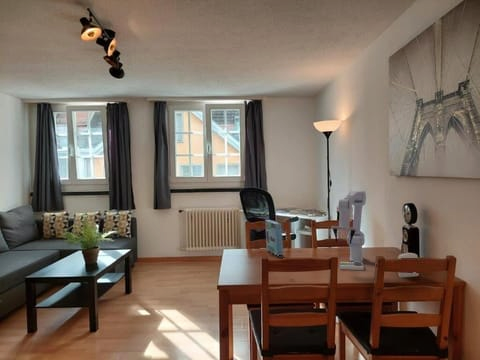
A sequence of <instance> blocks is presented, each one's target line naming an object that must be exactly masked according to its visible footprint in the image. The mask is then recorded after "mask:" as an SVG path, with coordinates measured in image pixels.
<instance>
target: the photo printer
mask: <svg viewBox="0 0 480 360" xmlns="http://www.w3.org/2000/svg"><path fill="white" fill-rule="evenodd" d="M401 258H418V259H419V257H418V254H416V253H414V252H413V253H412V252H404V253H401V254H399V255H398V256H397V260H398V259H401ZM419 276H420V272H419V273H416V272H413V273H399V272H398V277H399V278H413V277H419Z"/></svg>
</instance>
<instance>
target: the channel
mask: <svg viewBox="0 0 480 360" xmlns="http://www.w3.org/2000/svg"><path fill="white" fill-rule="evenodd" d="M339 270H352V271H353V270H354V271H364V270H365V269H364V264H363V262H361V266H354V261H340V262H339Z"/></svg>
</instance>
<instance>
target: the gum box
mask: <svg viewBox="0 0 480 360" xmlns="http://www.w3.org/2000/svg"><path fill="white" fill-rule="evenodd" d="M264 225H265V239H266V240H265V241H266V243H265V244H266V251H267V250H269V251H271V252H272V253H274V254H276V255H283V256H284V247H283V245H284V244H283V229H282V222H280V221H279V222H278V221H275V220H273V219H266V220H264ZM272 253H271V254H272Z"/></svg>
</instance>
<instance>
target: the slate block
mask: <svg viewBox="0 0 480 360" xmlns="http://www.w3.org/2000/svg"><path fill="white" fill-rule="evenodd" d="M353 262H354V266H361V263H362V261H361V260H354V261H353Z"/></svg>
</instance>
